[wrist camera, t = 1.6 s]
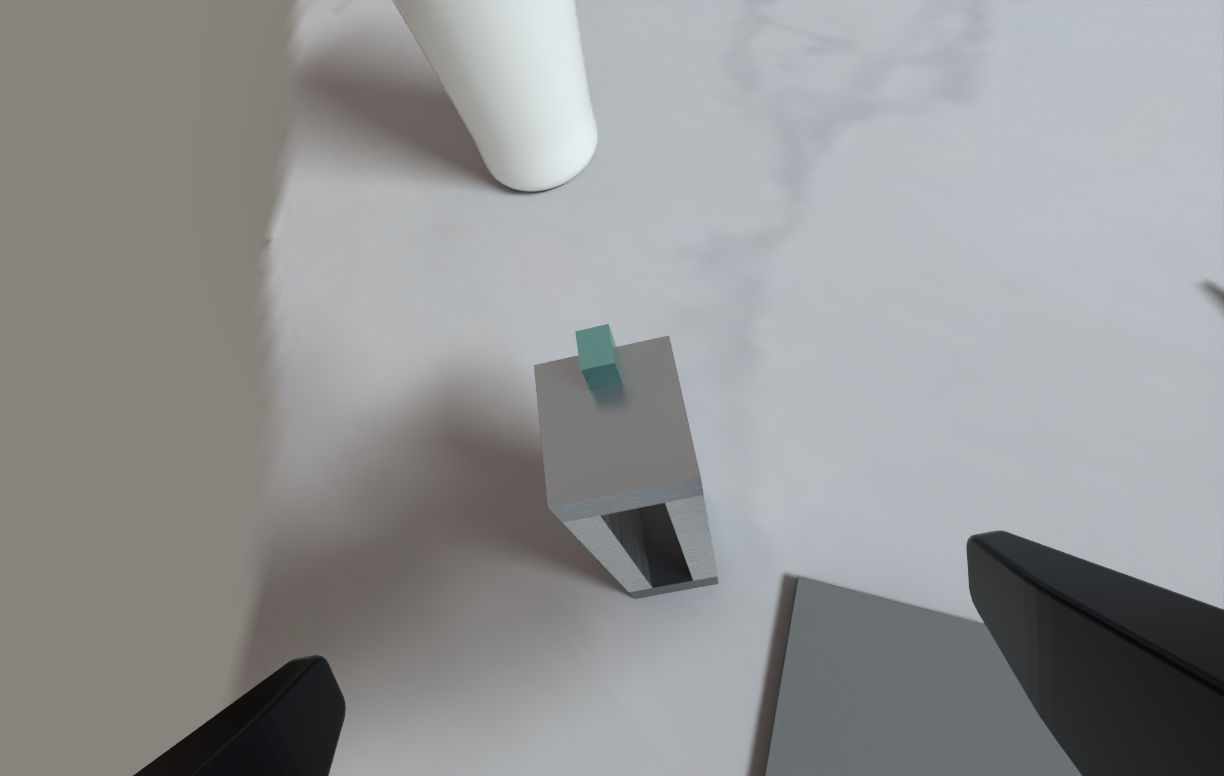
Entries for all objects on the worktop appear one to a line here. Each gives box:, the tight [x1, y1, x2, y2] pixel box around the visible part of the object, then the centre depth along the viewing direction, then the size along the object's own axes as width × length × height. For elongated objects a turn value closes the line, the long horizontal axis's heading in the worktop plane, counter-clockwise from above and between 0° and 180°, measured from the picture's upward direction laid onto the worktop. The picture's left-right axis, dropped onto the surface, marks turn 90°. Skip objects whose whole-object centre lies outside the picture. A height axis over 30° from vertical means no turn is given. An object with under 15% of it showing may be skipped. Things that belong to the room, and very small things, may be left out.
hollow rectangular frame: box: [534, 324, 718, 599], centre depth 15 cm, size 3×3×11 cm
